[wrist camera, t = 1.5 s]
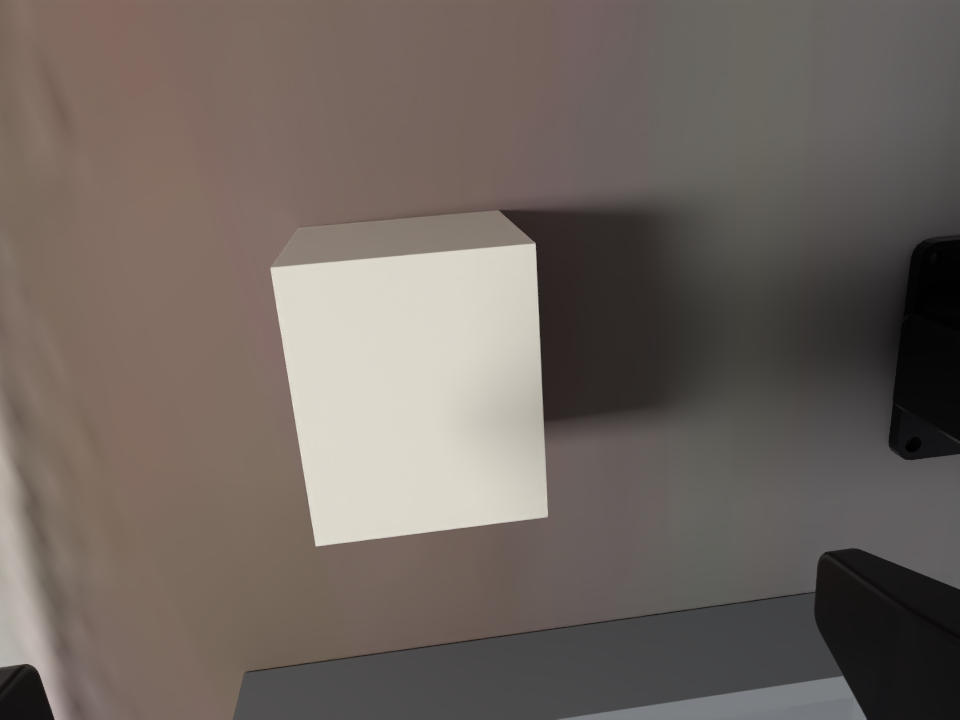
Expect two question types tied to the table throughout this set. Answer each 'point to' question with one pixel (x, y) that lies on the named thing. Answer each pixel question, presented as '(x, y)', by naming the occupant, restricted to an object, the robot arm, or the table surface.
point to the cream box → (414, 373)
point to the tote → (584, 674)
